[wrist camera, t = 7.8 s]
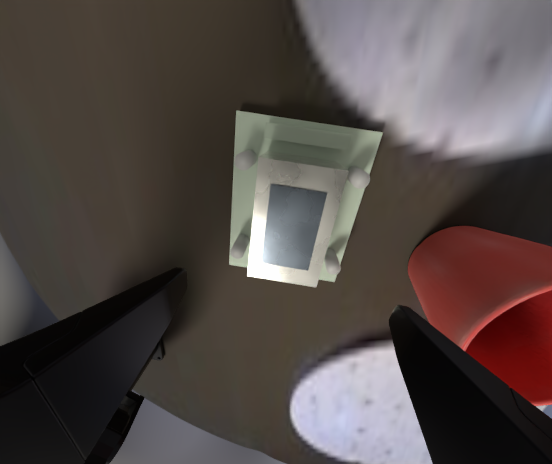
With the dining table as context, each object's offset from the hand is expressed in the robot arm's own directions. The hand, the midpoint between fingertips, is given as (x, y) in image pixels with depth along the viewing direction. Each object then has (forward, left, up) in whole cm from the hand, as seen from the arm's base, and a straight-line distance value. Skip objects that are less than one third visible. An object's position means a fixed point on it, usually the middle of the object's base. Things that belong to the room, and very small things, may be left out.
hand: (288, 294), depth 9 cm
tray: (0, 0, -12) cm, 12 cm away
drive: (0, 0, -11) cm, 11 cm away
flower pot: (-3, -16, -12) cm, 20 cm away
